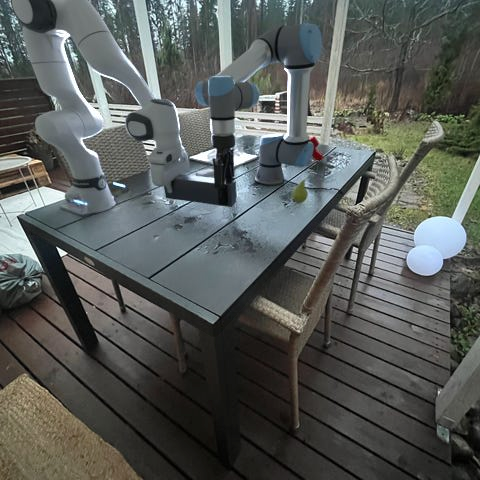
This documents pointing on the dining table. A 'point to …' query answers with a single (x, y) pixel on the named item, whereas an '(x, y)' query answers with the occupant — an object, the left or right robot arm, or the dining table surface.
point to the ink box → (206, 173)
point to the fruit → (300, 192)
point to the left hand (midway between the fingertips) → (174, 189)
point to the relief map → (208, 156)
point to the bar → (200, 190)
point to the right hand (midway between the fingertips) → (225, 201)
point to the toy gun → (316, 153)
